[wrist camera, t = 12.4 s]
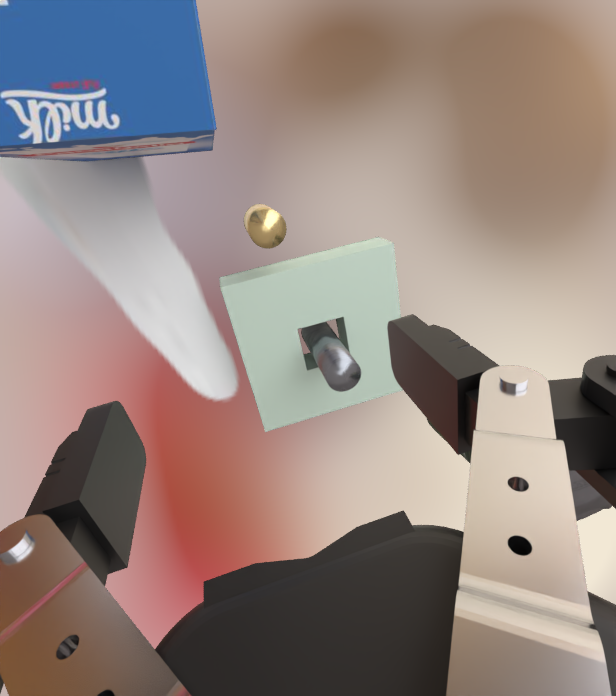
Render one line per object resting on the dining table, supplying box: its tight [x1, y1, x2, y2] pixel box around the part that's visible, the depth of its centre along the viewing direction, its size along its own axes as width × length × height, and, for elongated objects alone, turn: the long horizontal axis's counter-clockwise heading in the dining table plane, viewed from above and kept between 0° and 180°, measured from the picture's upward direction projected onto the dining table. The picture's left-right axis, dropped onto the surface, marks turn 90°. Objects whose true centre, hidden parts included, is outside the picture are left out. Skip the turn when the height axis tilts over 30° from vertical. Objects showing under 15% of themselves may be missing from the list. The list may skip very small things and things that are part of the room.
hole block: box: [220, 237, 403, 432], centre depth 40 cm, size 16×16×4 cm
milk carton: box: [0, 0, 216, 161], centre depth 21 cm, size 10×6×20 cm, turn 95°
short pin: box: [244, 204, 286, 248], centre depth 33 cm, size 3×3×5 cm
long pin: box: [301, 322, 361, 392], centre depth 37 cm, size 3×3×10 cm
